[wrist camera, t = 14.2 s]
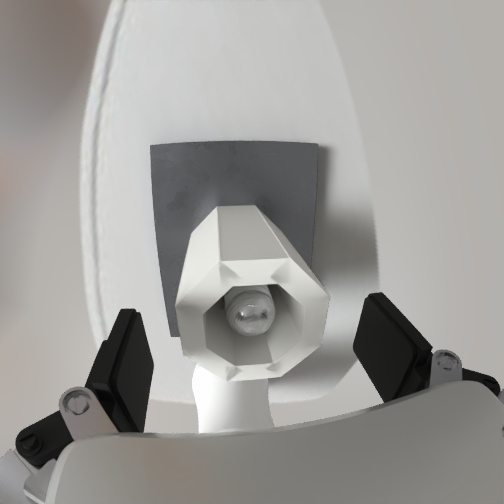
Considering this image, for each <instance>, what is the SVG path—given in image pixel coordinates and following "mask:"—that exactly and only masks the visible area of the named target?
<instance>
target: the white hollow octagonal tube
mask: <svg viewBox="0 0 504 504" xmlns="http://www.w3.org/2000/svg"><path fill="white" fill-rule="evenodd" d="M266 284H267V286H268V289H269V291H270V294H271V296H272V299H273V302H274V305H275V319H274V321H273V323H272V325H271V326H270V328H269V329H268V330H267V331H265V332H264V333H262V334H260V335H257V336H245V335H241V334H239V333H237V332H236V331H235V330H233V329H232V327H231V326H230V325H229V323H228V321H227V318H226V311H225V300H224V294H225V293H226V292H227V291H228V290H229V289H230V288H231V287H232V286H249V285H266ZM329 300H330V295H329V294H328V293H327V291H326V290H325V288H324V287H323V286H322V284H321V283H320V282H319V280H318V279H317V278H316V276H315V275H314V274H313V272H312V271H311V270H310V268H309V267H308V265H307V264H306V263H305V261H304V260H303V259H302V258H301V256H300V255H299V254H298V252H297V251H296V250H295V248H294V247H293V246H292V244H291V243H290V242H289V240H288V239H287V238H286V236H285V235H284V234H283V233H282V231H281V230H280V229H279V228H278V227H277V226H276V225H275V224H274V223H273V222H272V221H271V220H270V219H269V218H268V217H267V216H266V215H265V214H263V213H262V212H261V211H260V210H259V209H258V208H257V207H256V205H242V206H216V208H215V209H214V210H213V211H212V212H211V213H210V214H209V215H208V216H207V217H206V218H205V219H204V220H203V221H202V222H201V224H200V225H199V226H198V227H197V228H196V229H195V230H194V231H193V232H192V233H191V236H190V240H189V245H188V249H187V253H186V257H185V262H184V266H183V271H182V275H181V280H180V284H179V289H178V294H177V299H176V304H175V308H176V314H177V321H178V327H179V333H180V339H181V345H182V350H183V356H185V357H186V358H188V359H190V360H191V361H193V362H194V363H196V364H198V365H199V366H201V367H203V368H204V369H206V370H208V371H209V372H211V373H213V374H215V375H216V376H218V377H220V378H222V379H223V380H225V381H226V382H228V381H243V380H255V379H265V378H275V377H281V376H282V375H284V374H285V373H286V372H288V371H289V370H290V369H292V368H293V367H294V366H296V365H297V364H298V363H299V362H301V361H302V360H303V359H305V358H306V357H307V356H308V355H310V354H311V353H312V352H313V351H315V350H316V349H317V348H318V347H320V346H321V345H322V341H323V335H324V330H325V324H326V318H327V312H328V306H329Z"/></svg>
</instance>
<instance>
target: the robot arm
mask: <svg viewBox="0 0 504 504" xmlns="http://www.w3.org/2000/svg"><path fill="white" fill-rule="evenodd" d="M432 348H433V347H432V346H431V345H430V343H429V342H428V341H427V340H426V339H425V338H424V337H423V336H422V334H421V333H420V332H419V331H418V330H417V329H416V328H415V327H414V326H413V325H412V323H411V322H410V321H409V320H408V319H407V318H406V317H405V316H404V315H403V314H402V313H401V312H400V311H399V309H397V307H396V306H395V305H394V304H393V303H392V302H391V301H390V300H389V299H388V298H387V297H386V296H385V295H384V294H383V293H382V292H379V293H371V294H369V295H368V297H367V298H365V301H364V305H363V309H362V313H361V317H360V321H359V325H358V328H357V332H356V336H355V339H354V343H353V350H354V353H355V354H356V356H357V358H358V359H359V361H360V362H361V364H362V366H363V368H364V369H365V371H366V373H367V374H368V376H369V378H370V379H371V381H372V383H373V384H374V386H375V388H376V390H377V391H378V393H379V395H380V396H381V398H382V400H383V402H384V403H383V404H379V405H376V406H373V407H369V408H366V409H362V410H358V411H354V412H351V413H347V414H343V415H338V416H335V417H329V418H325V419H320V420H315V421H310V422H304V423H299V424H293V425H287V426H280V427H272V428H264V429H255V430H245V431H233V432H216V433H143V432H144V426H145V419H146V411H147V405H148V399H149V393H150V387H151V381H152V375H153V369H154V363H153V359H152V355H151V352H150V348H149V344H148V341H147V337H146V333H145V329H144V325H143V321H142V317H141V314H140V312H136V310H135V309H121V310H120V312H119V314H118V316H117V319H116V321H115V323H114V326H113V328H112V330H111V333H110V335H109V337H108V340H104V341H103V342H102V344H101V347H100V349H99V351H98V354H97V356H96V359H95V361H94V364H93V366H92V369H91V372H90V374H89V376H88V379H87V382H86V384H85V387H74V388H70V389H69V390H67V391H66V392H64V393H63V394H62V396H61V398H60V400H59V409H60V410H59V411H57V412H55V413H53V414H51V415H49V416H48V417H46V418H44V419H42V420H40V421H38V422H36V423H35V424H32V425H31V426H28V427H26V428H25V429H23V430H22V431H21V432H20V433H19V434H18V436H17V438H16V449H15V450H14V451H12V449H10V450H9V451H7V453H5V454H4V456H2V457H1V458H0V504H504V389H502V391H500V386H499V384H498V382H497V381H496V379H495V378H493V377H491V376H489V375H485V374H481V373H478V372H475V371H471V370H468V369H464V368H462V363H461V360H460V358H459V357H458V356H457V355H456V354H455V353H453V352H451V351H448V350H438V351H436V352H435V353H434V354H433V353H432V352H431V350H432Z"/></svg>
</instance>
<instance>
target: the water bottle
mask: <svg viewBox="0 0 504 504" xmlns="http://www.w3.org/2000/svg"><path fill="white" fill-rule="evenodd" d="M268 385H269V381H268V378H265V379H255V380H243V381H228V382H226V381H225V380H223V379H222V378H220V377H218V376H216V375H215V374H213V373H211V372H209V371H208V370H206V369H204V368H203V367H201V366H199V365H198V364H197V365H196V367H195V370H194V374H193V381H192V388H193V392H194V396H195V400H196V404H197V408H198V409H197V410H198V418H199V433H216V432H233V431H245V430H255V429H264V428H272V427H274V424H273V421H272V417H271V413H270V407H269V400H268Z"/></svg>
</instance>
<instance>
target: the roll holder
mask: <svg viewBox="0 0 504 504" xmlns="http://www.w3.org/2000/svg"><path fill="white" fill-rule="evenodd" d="M150 155H151V179H152V195H153V209H154V221H155V231H156V241H157V250H158V258H159V266H160V273H161V281H162V287H163V294H164V300H165V306H166V312H167V318H168V324H169V329H170V334H171V337H180V333H179V327H178V321H177V314H176V308H175V304H176V299H177V294H178V289H179V284H180V280H181V275H182V271H183V266H184V262H185V257H186V253H187V249H188V245H189V240H190V236H191V233H192V232H193V231H194V230H195V229H196V228H197V227H198V226H199V225H200V224H201V222H202V221H203V220H204V219H205V218H206V217H207V216H208V215H209V214H210V213H211V212H212V211H213V210H214V209H215V208H216V206H242V205H256V207H257V208H258V209H259V210H260V211H261V212H262V213H263V214H265V215H266V216H267V217H268V218H269V219H270V220H271V221H272V222H273V223H274V224H275V225H276V226H277V227H278V228H279V229H280V230H281V231H282V233H283V234H284V235H285V236H286V238H287V239H288V240H289V242H290V243H291V244H292V246H293V247H294V248H295V250H296V251H297V252H298V254H299V255H300V256H301V258H302V259H303V260H304V261H305V263H306V264H307V265H308V267H309V268H310V270H311V259H312V248H313V236H314V222H315V208H316V190H317V169H318V144H315V143H300V142H278V141H208V142H187V143H172V144H159V145H150ZM224 300H225V311H226V318H227V321H228V323H229V325H230V326H231V327H232V329H233V330H235V331H236V332H237V333H239V334H241V335H245V336H257V335H260V334H262V333H264V332H265V331H267V330H268V329H269V328H270V326H271V325H272V323H273V321H274V319H275V305H274V302H273V299H272V296H271V294H270V291H269V289H268V286H267V284H266V285H249V286H232V287H231V288H230V289H229V290H228V291H227V292H226V293H225V294H224Z"/></svg>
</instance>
